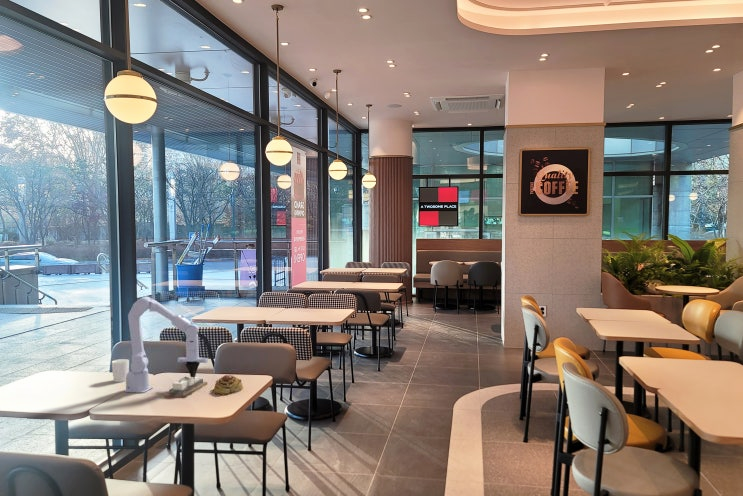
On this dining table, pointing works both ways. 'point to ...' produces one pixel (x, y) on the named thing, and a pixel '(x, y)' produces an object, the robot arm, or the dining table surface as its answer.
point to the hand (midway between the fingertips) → (193, 377)
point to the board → (186, 390)
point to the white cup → (120, 369)
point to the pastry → (228, 385)
